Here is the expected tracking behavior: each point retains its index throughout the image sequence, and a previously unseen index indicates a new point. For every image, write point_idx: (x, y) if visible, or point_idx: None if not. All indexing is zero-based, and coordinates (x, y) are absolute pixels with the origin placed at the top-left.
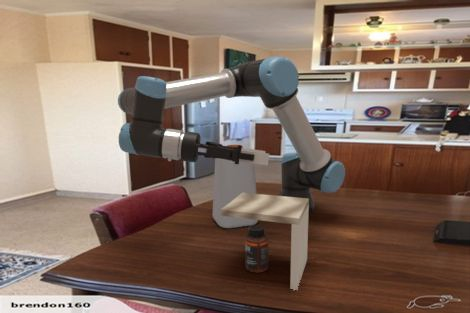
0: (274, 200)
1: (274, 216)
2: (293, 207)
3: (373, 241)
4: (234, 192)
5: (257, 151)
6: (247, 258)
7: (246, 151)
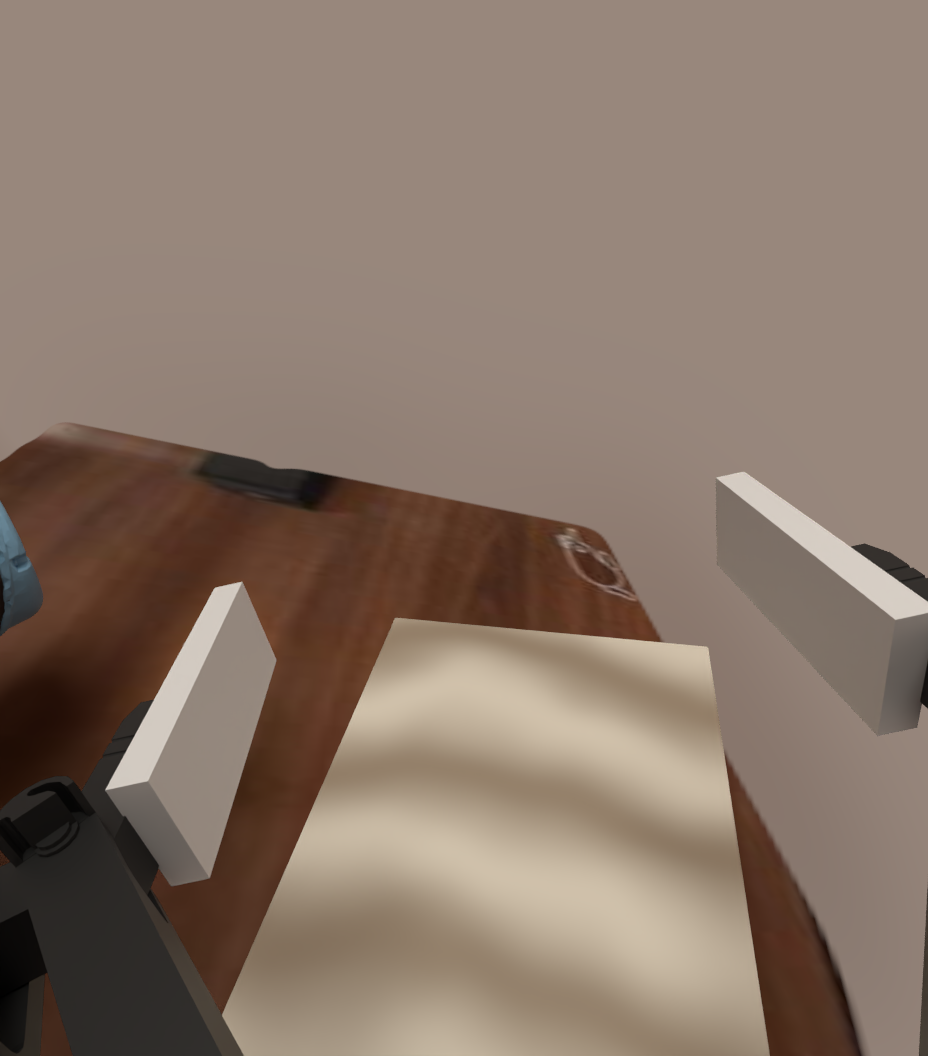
0: (438, 764)
1: (722, 747)
2: (553, 670)
3: (295, 607)
4: None
5: (223, 642)
6: None
7: (886, 580)
